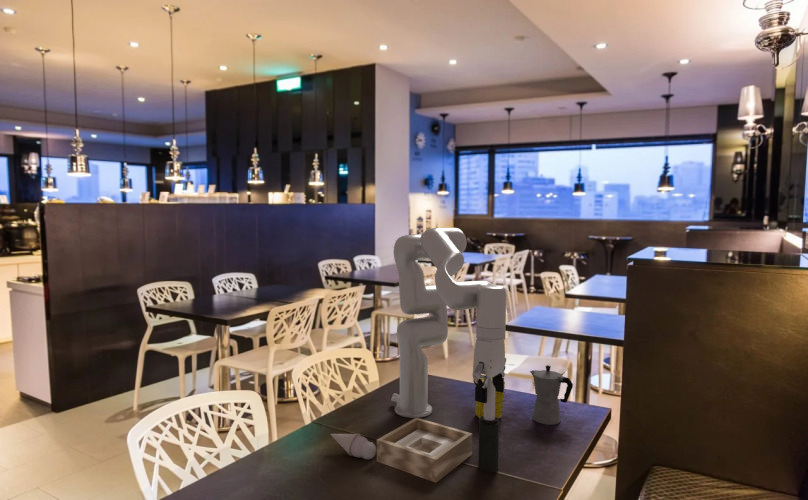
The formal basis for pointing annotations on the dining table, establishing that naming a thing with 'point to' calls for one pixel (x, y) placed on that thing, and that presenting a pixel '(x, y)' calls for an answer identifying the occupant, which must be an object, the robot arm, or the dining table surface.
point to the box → (424, 448)
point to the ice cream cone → (356, 445)
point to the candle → (489, 433)
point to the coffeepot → (549, 395)
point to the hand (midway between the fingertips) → (489, 396)
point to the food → (498, 404)
